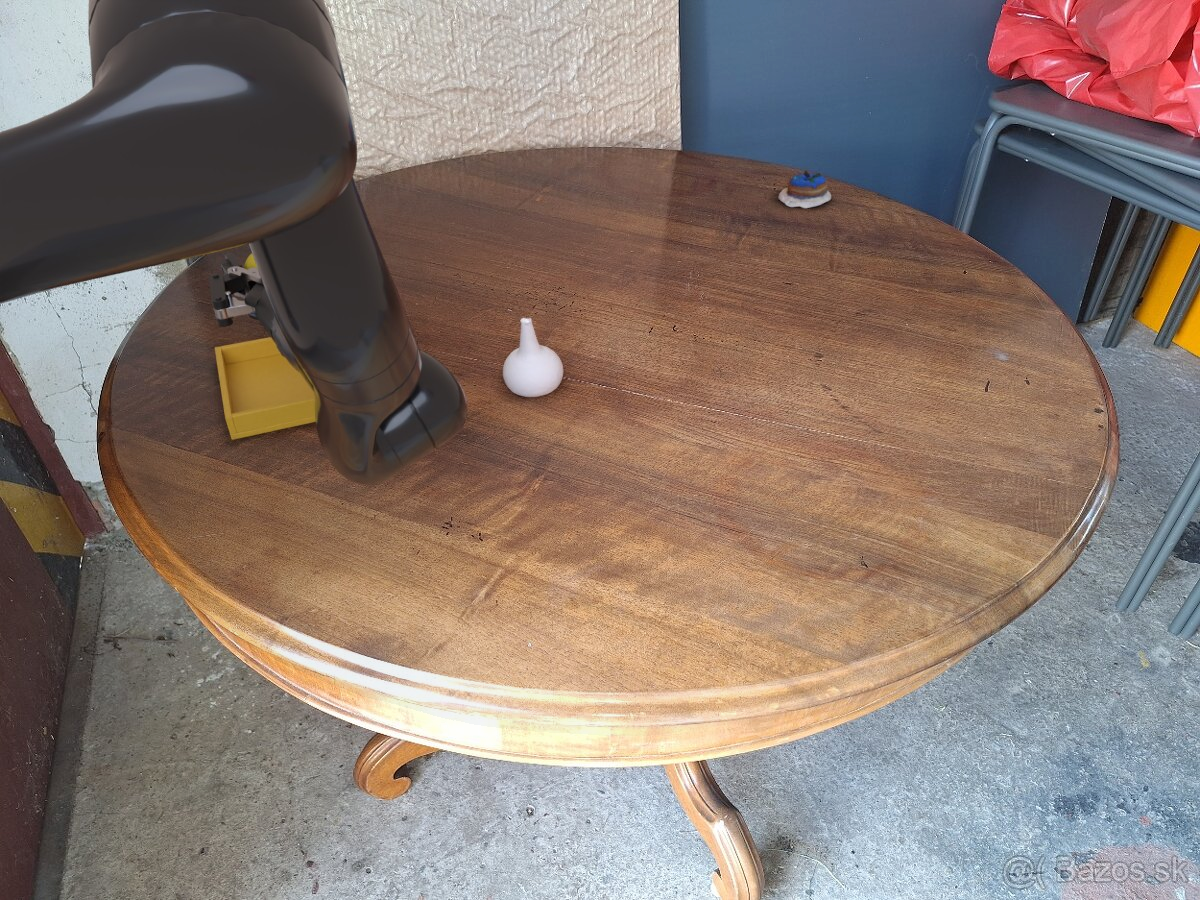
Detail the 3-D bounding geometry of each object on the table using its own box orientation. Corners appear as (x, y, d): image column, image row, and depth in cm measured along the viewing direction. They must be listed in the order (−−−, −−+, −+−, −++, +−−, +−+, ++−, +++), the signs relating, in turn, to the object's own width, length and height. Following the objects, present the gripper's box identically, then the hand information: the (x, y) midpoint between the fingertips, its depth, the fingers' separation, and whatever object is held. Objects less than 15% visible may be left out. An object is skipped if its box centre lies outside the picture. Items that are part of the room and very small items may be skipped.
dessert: (818, 182, 139) (829, 158, 133) (830, 218, 137) (842, 197, 131) (769, 189, 138) (779, 166, 132) (780, 226, 136) (791, 205, 130)
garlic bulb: (573, 377, 95) (572, 310, 90) (545, 407, 91) (542, 338, 86) (522, 363, 97) (518, 297, 93) (492, 392, 93) (486, 324, 88)
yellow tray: (231, 440, 86) (225, 418, 84) (220, 368, 96) (214, 347, 95) (379, 408, 90) (375, 386, 89) (353, 342, 101) (349, 322, 99)
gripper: (392, 264, 76) (326, 202, 88) (219, 308, 70) (173, 235, 81) (404, 341, 81) (340, 273, 92) (243, 388, 74) (195, 309, 86)
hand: (262, 255), depth 87 cm, fingers closed on lemon, 5 cm apart
